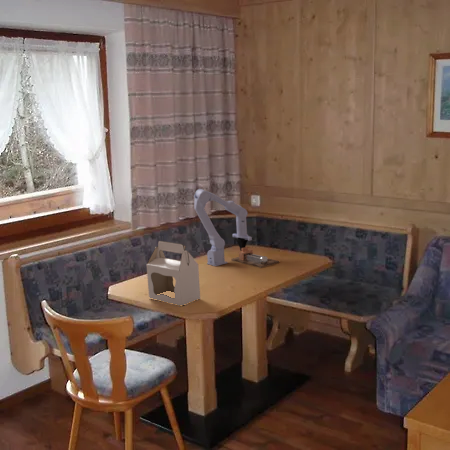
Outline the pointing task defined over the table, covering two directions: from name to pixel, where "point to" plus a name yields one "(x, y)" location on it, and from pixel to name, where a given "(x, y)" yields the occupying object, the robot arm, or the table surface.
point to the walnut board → (269, 262)
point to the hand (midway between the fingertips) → (242, 250)
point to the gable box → (173, 275)
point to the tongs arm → (254, 255)
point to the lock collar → (244, 252)
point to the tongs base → (256, 259)
